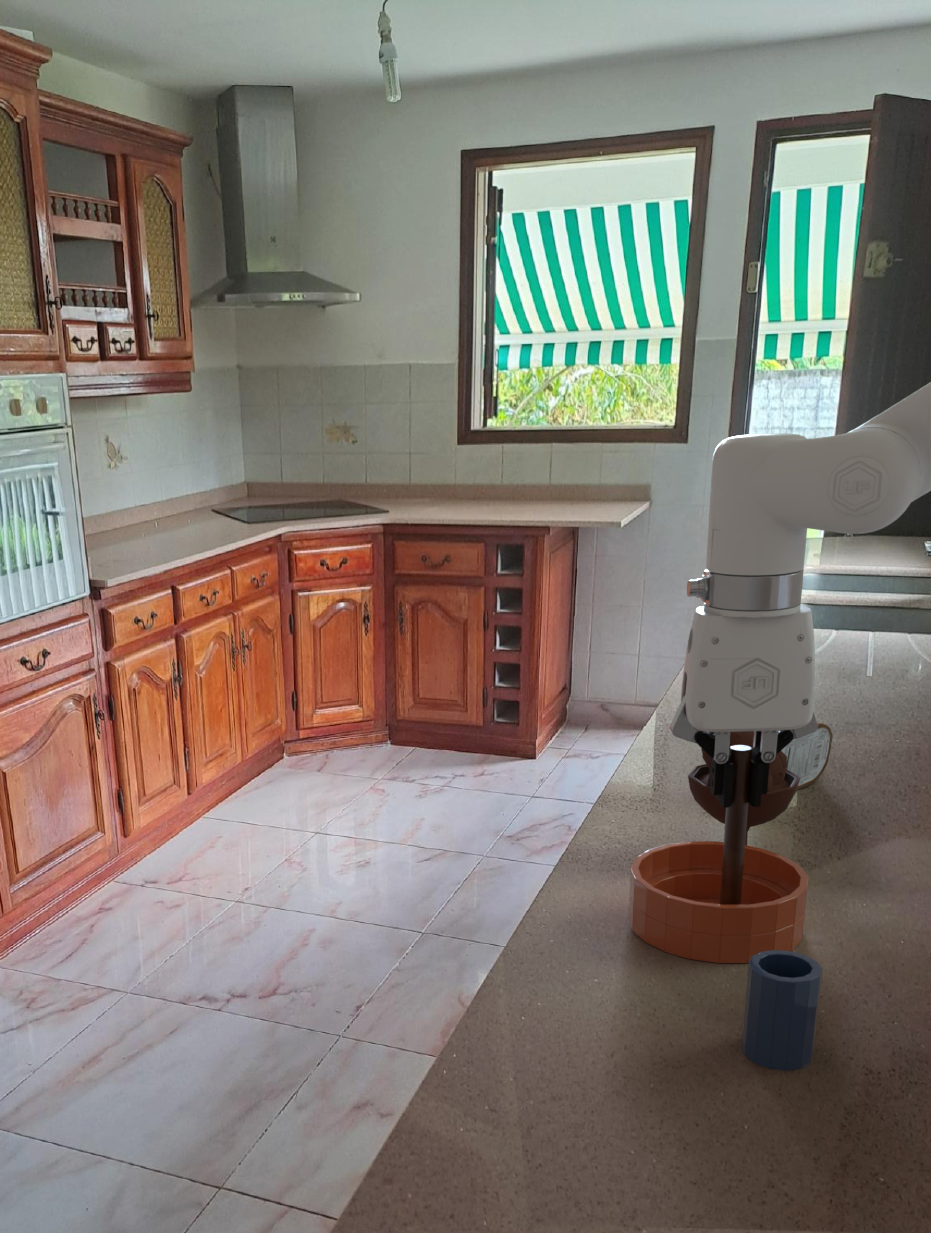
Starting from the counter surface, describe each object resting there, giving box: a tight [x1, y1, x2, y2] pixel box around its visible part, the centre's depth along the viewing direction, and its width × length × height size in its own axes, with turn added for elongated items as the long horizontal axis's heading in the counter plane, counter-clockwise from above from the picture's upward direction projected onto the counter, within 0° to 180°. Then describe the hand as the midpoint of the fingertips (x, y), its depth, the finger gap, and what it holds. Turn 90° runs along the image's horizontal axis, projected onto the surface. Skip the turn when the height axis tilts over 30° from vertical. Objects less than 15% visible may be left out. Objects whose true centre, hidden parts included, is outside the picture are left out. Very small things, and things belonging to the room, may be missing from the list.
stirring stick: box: [720, 745, 752, 905], centre depth 103 cm, size 2×2×18 cm
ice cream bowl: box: [687, 731, 801, 846], centre depth 122 cm, size 11×11×15 cm
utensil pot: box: [741, 950, 824, 1071], centre depth 87 cm, size 5×5×8 cm
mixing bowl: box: [628, 840, 809, 964], centre depth 108 cm, size 15×15×6 cm
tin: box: [781, 720, 834, 791], centre depth 142 cm, size 15×3×8 cm, turn 126°
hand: (737, 800), depth 102 cm, fingers closed on stirring stick, 1 cm apart
